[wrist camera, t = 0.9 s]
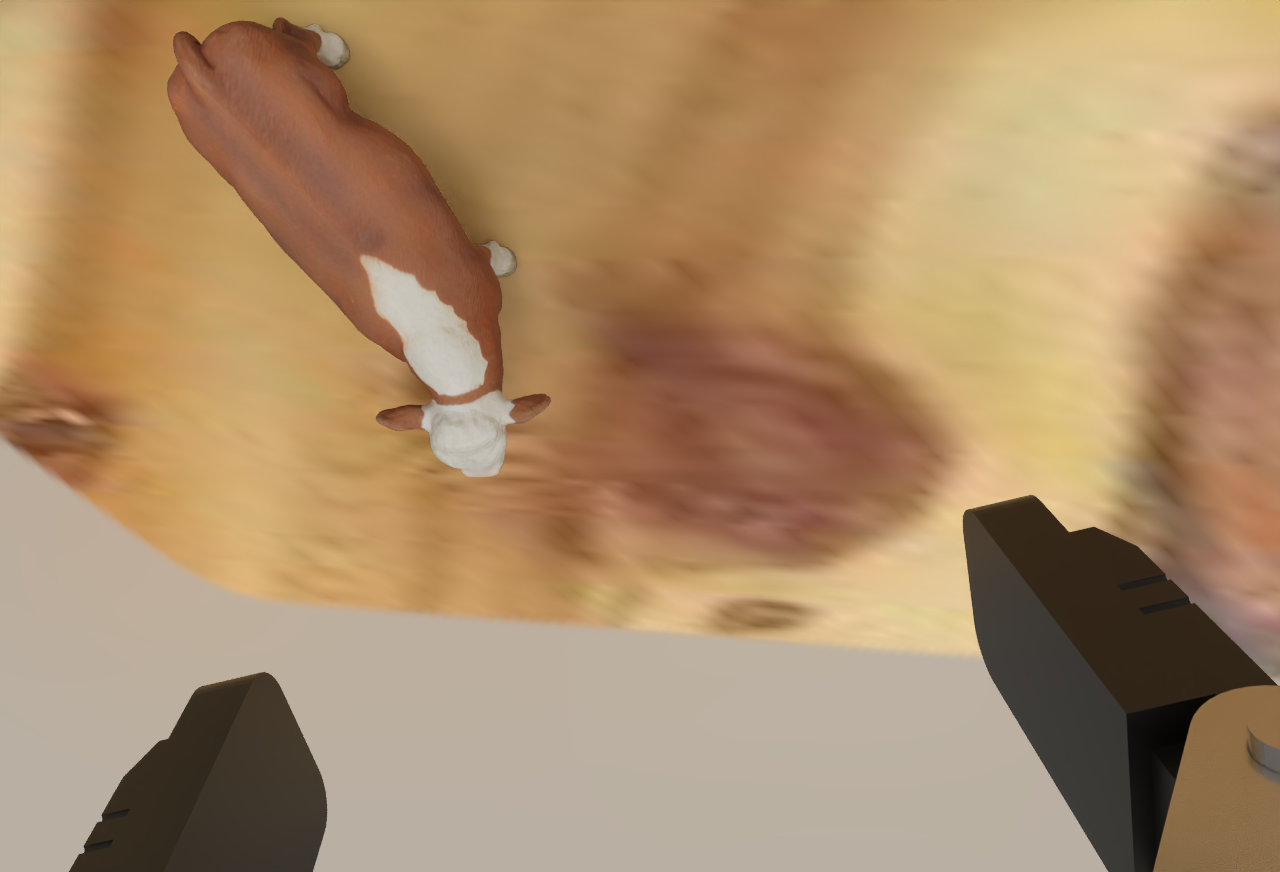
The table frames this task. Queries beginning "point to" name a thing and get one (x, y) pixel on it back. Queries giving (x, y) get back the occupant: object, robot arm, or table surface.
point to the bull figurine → (357, 223)
